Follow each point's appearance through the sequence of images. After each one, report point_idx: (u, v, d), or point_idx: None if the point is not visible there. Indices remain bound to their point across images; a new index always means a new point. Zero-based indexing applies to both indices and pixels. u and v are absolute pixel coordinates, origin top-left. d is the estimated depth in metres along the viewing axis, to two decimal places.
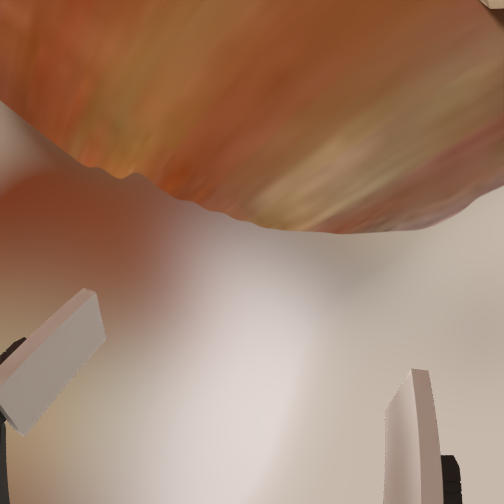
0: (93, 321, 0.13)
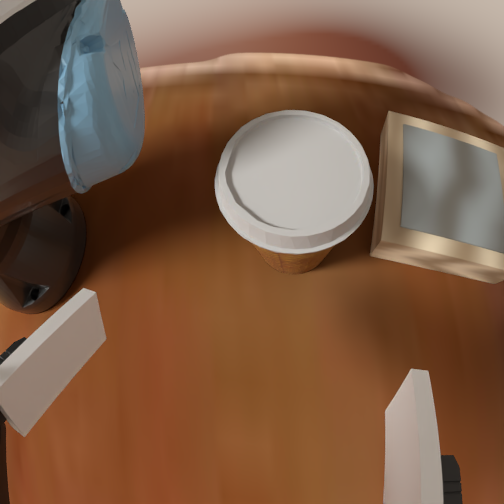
0: (93, 321, 0.13)
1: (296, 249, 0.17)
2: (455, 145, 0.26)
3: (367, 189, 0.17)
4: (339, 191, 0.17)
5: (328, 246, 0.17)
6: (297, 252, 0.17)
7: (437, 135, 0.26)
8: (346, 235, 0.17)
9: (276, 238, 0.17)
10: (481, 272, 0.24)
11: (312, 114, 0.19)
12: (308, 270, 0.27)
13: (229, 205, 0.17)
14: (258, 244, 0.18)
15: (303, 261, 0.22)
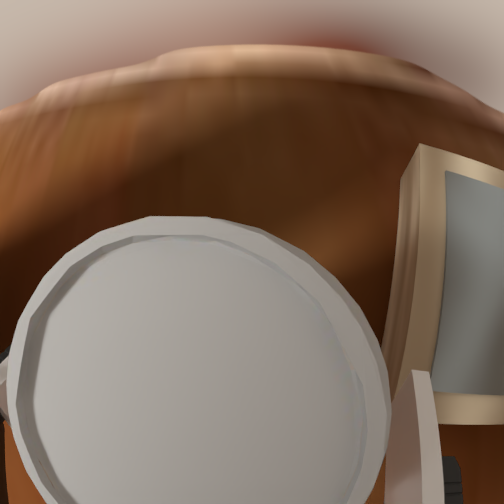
0: None
1: None
2: None
3: (362, 502, 0.04)
4: (281, 502, 0.05)
5: None
6: None
7: (499, 192, 0.14)
8: None
9: None
10: None
11: (225, 230, 0.06)
12: None
13: (33, 481, 0.05)
14: None
15: None
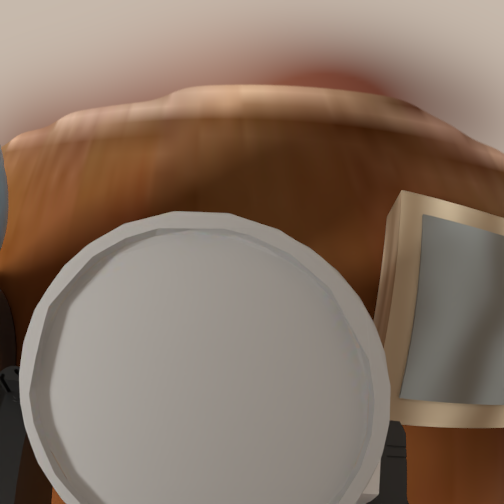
0: None
1: None
2: (494, 245, 0.17)
3: (372, 470, 0.05)
4: (298, 475, 0.06)
5: None
6: None
7: (471, 230, 0.17)
8: None
9: None
10: None
11: (245, 225, 0.07)
12: None
13: (45, 473, 0.05)
14: None
15: None
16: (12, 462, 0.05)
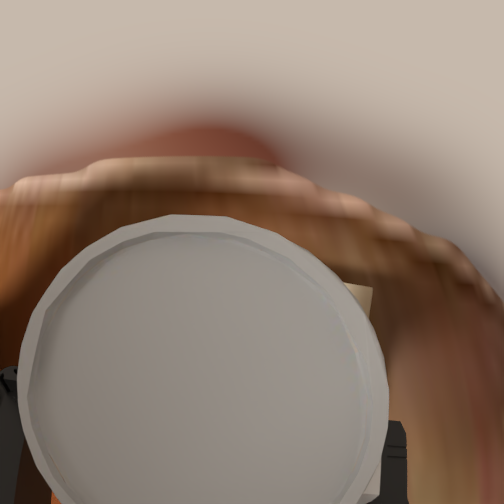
0: None
1: None
2: None
3: (371, 475, 0.05)
4: (296, 479, 0.05)
5: None
6: None
7: None
8: None
9: None
10: None
11: (243, 229, 0.07)
12: None
13: (44, 476, 0.05)
14: None
15: None
16: (12, 462, 0.05)
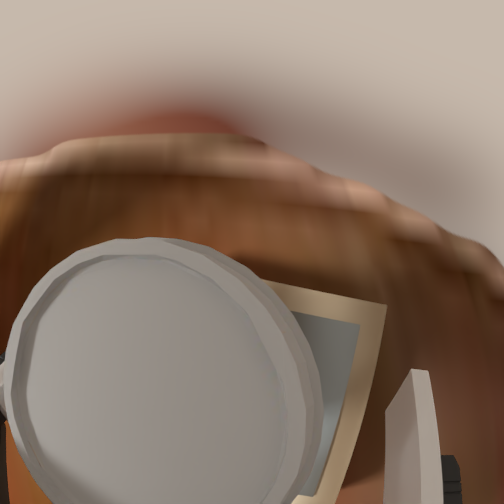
0: None
1: None
2: None
3: (289, 487, 0.06)
4: (221, 481, 0.06)
5: None
6: None
7: None
8: None
9: None
10: None
11: (173, 251, 0.07)
12: None
13: (24, 460, 0.06)
14: None
15: None
16: None
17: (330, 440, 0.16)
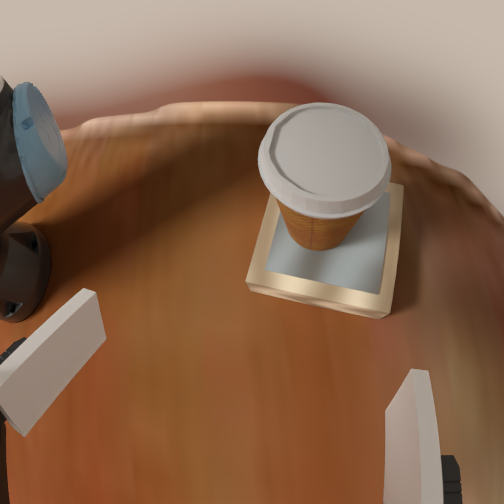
0: (93, 321, 0.13)
1: (331, 214, 0.20)
2: None
3: (387, 165, 0.20)
4: (364, 167, 0.20)
5: (357, 212, 0.20)
6: (331, 216, 0.20)
7: None
8: (371, 203, 0.20)
9: (315, 204, 0.20)
10: (353, 309, 0.30)
11: (338, 106, 0.22)
12: (332, 247, 0.30)
13: (274, 177, 0.20)
14: (298, 210, 0.21)
15: (332, 232, 0.25)
16: None
17: (383, 255, 0.30)
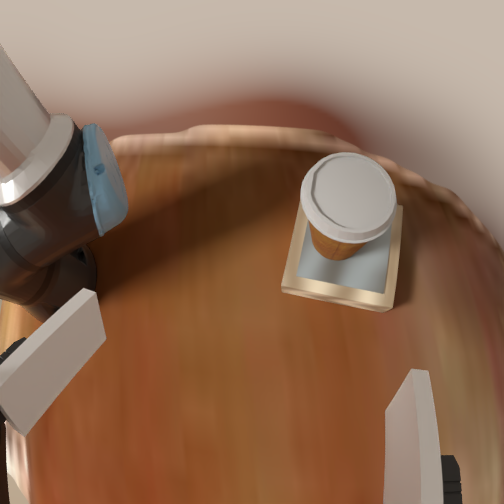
0: (93, 321, 0.13)
1: (355, 240, 0.28)
2: None
3: (394, 204, 0.28)
4: (378, 206, 0.28)
5: (373, 238, 0.28)
6: (355, 242, 0.28)
7: None
8: (382, 232, 0.28)
9: (345, 234, 0.28)
10: (364, 305, 0.39)
11: (359, 155, 0.30)
12: (348, 257, 0.38)
13: (316, 214, 0.28)
14: (332, 238, 0.29)
15: (351, 249, 0.33)
16: None
17: (387, 263, 0.38)
